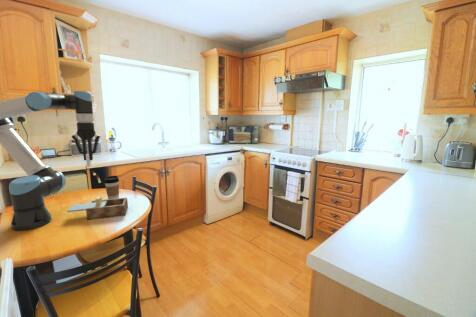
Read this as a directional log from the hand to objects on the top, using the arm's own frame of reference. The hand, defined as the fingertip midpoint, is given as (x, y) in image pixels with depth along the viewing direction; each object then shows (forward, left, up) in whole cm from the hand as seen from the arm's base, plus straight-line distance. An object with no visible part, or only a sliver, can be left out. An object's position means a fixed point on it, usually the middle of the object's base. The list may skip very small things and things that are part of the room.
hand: (89, 166), depth 126 cm
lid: (-2, -4, -22) cm, 22 cm away
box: (+8, -4, -26) cm, 28 cm away
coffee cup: (+7, +17, -27) cm, 32 cm away
